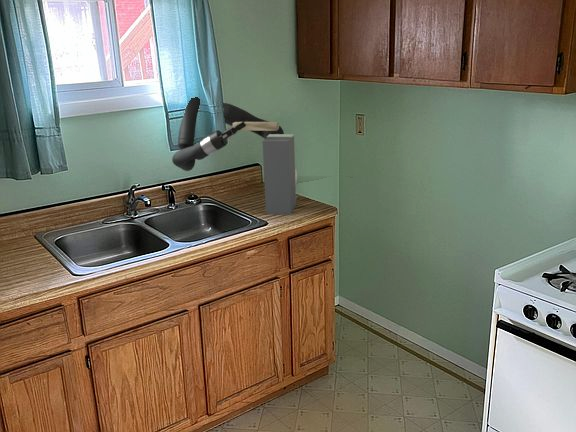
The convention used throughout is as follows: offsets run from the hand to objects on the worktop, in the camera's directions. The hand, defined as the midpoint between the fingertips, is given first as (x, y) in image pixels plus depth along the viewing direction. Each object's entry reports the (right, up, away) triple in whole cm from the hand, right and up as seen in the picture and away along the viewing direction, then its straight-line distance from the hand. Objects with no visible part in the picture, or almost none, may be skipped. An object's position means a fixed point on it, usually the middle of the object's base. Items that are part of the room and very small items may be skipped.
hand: (245, 122), depth 250 cm
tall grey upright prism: (+15, -37, +12) cm, 41 cm away
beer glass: (+19, -32, +25) cm, 45 cm away
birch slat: (+4, -3, 0) cm, 5 cm away
